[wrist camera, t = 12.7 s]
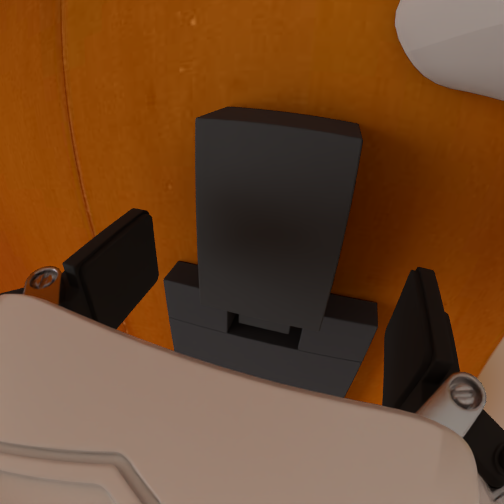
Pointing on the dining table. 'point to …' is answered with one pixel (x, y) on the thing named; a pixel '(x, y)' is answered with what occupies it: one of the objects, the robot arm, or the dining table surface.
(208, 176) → the pad
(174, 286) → the base pad
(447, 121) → the dining table surface
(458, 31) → the beverage can
